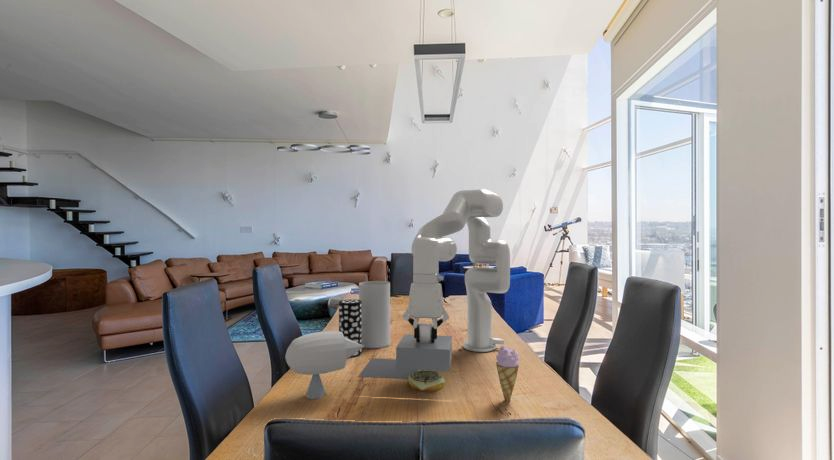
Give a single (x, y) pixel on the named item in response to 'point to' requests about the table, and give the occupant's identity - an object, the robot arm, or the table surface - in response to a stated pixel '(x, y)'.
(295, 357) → the jet engine
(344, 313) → the spotted tube
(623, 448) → the table surface
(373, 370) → the rubber mat
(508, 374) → the ice cream cone
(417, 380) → the decorated donut
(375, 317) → the cylinder vase
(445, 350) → the lid
